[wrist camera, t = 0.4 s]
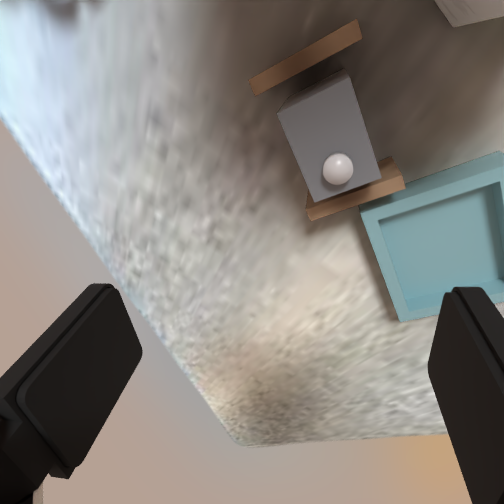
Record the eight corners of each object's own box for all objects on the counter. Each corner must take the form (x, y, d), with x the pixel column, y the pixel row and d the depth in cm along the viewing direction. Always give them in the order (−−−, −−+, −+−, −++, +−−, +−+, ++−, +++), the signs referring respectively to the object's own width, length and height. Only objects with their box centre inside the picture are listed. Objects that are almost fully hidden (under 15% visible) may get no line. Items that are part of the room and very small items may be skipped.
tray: (499, 150, 28) (516, 161, 25) (517, 277, 33) (533, 296, 31) (357, 200, 32) (360, 213, 30) (395, 303, 38) (399, 322, 36)
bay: (352, 22, 25) (356, 18, 21) (395, 168, 30) (405, 188, 26) (259, 74, 28) (248, 80, 24) (312, 198, 33) (310, 221, 29)
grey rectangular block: (344, 68, 27) (350, 78, 19) (369, 147, 30) (383, 182, 22) (288, 97, 29) (274, 116, 21) (317, 168, 32) (313, 208, 24)
